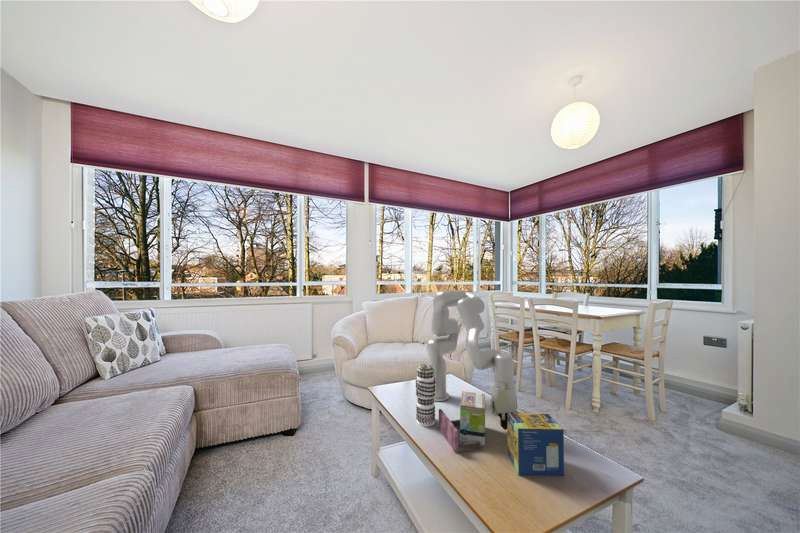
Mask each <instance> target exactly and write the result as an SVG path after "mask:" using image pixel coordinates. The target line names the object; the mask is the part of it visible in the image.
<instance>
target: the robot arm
mask: <svg viewBox="0 0 800 533" xmlns="http://www.w3.org/2000/svg"><path fill="white" fill-rule="evenodd" d="M432 301H433V303H432V304H433V311H432V320H431V321H432V322H431V334H432V335H433V336H434V338H431V339H429V340H428V341H427V343H426V353H427V358H428V361H427V362H428V365H431V366H432V368H434V377H435V379H436V380H434V381H435V382H436V383H435V384H434V385H435V388H434V389H435V392H434V393H435V397H434V402H444V401H447V400H449V398H450V393H449V392H447V363H446V360H445V358H444V355H449V354H453V353H455V351H456V350H457V347H458V339H459V332H460V327H459V322H458V320H456V318H454V317H450V310H449V308H451V307H457V310H458V314H459V316H460V318H461V321H462V322H463V325H464V327H465V329H466V330H465V331H466V337H465V338H466V339H465V348H466V352H467V355H468V357H469V360H470V361H471V363H472V365H473V366H474V368H475V369H477V370H479V371H483V370H488V369H490V368H494V385H493V386H492V388H491V396H490V408H491V409H492V412H491V414H492V415H493V416H496V417H499V420H500V428H502V429H503V430H504V431H506V430H507V431H508V425H507V414H518V413H517V410H518V396H517V391H516V388H515V385H516V383H517V381H516V380H514V357H513V356H512V355H511V354H508V353H505V352H504V353H503V352H501V351H499V350H497V349H495V348H493V349H486V350H481V348H480V346H479V342H478V337H479V335H480V333H481V332H482V331H483V330H484V329H485V322H483V320H482V317H481V315H480V314H482V313H483V312H484V310H485V303H484V301H483V299H481V297H479V296H477V295H475V294H473V293H471V292H468V291H467V290H463V289H455V290H453V289H451V290H448V289H447V290H441V291H439V292H436V293H435V294H434V297H433V300H432Z"/></svg>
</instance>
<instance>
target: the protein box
mask: <svg viewBox="0 0 800 533" xmlns="http://www.w3.org/2000/svg"><path fill="white" fill-rule="evenodd" d="M507 425H508V430H507V457H508V459H509V461H510V462H511V464H512V466H513V468H514V470H515V472H516V474H517V476H533V477H534V476H537V477H538V476H541V477H543V476H544V477H545V476H546V477H565V451H564V449H565V443H564V440H565V439H564V438H565V437H564V428H563V427H561V425H560V424H559V423H558V422H557V421H556V420H555V419H554V418H553V417H552V416H551V415H550V414H549V413H515V414H507Z"/></svg>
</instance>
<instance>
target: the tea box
mask: <svg viewBox="0 0 800 533" xmlns="http://www.w3.org/2000/svg"><path fill="white" fill-rule="evenodd" d="M485 396H486V395H485V393H481V392H473V391H472V392H471V391H465V390H464V391H463V390H462V392H461V398H460V406H459V412H460V413H459V420H460V427H459V442H460V443H462V444H463V443H471V442H478V441H479V442H480V446H485V445H486V397H485Z"/></svg>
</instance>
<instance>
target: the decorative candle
mask: <svg viewBox="0 0 800 533" xmlns="http://www.w3.org/2000/svg"><path fill="white" fill-rule="evenodd" d="M415 370H416V373H417V374H416V380H415V388H416V389H415V396H416V397H417V398H416V399H417V400H416V417H415V418H416V424H418V425H419V426H422V427H431V426H434V425H435V424H436V413H435V412H436V406H435V401H434V397H435V393H434V392H435V389H434V388H435V385H434V384H435V383H436V382H435V381H434V380H436V379H435V377H434V368H432V366H431V365H429V364H427V363H426V364H425V363H423V364H420V365H418V367H416V369H415Z"/></svg>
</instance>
